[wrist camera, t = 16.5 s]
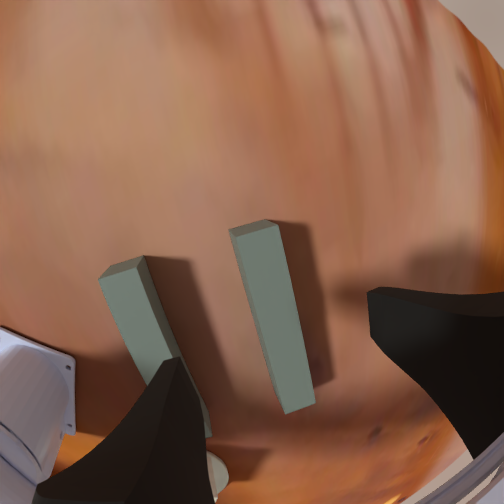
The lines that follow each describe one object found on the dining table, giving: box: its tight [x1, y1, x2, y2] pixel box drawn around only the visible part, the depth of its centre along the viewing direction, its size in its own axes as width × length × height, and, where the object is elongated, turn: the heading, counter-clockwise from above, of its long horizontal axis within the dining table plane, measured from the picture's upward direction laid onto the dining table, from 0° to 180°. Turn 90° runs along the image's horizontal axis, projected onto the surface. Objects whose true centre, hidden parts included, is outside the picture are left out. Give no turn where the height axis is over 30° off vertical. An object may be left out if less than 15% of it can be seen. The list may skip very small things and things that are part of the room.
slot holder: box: [98, 219, 316, 438], centre depth 19 cm, size 14×11×3 cm
